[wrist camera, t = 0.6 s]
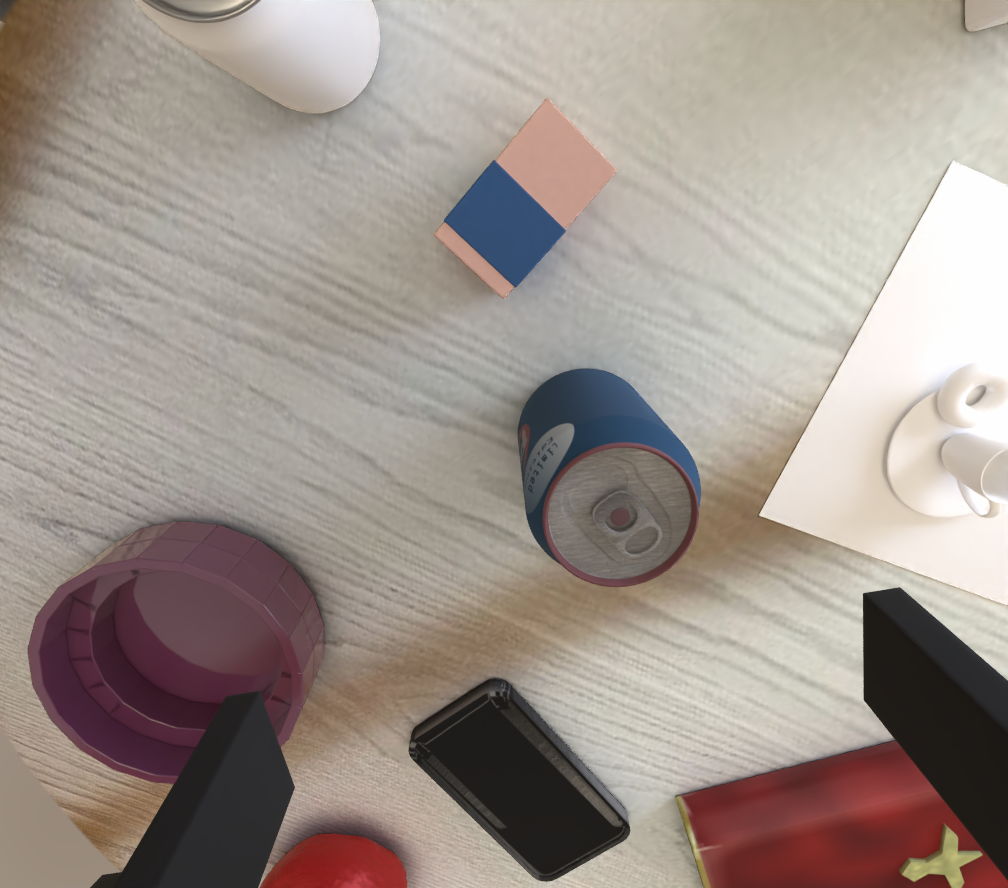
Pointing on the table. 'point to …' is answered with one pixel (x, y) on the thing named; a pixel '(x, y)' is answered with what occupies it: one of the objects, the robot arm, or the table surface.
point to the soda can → (605, 480)
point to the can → (281, 44)
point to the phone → (519, 781)
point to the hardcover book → (834, 828)
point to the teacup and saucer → (921, 407)
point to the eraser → (525, 200)
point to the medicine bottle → (985, 14)
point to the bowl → (173, 644)
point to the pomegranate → (337, 865)
